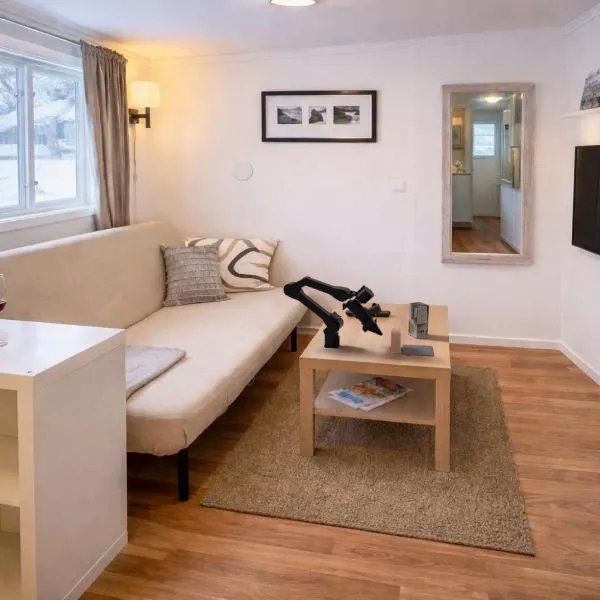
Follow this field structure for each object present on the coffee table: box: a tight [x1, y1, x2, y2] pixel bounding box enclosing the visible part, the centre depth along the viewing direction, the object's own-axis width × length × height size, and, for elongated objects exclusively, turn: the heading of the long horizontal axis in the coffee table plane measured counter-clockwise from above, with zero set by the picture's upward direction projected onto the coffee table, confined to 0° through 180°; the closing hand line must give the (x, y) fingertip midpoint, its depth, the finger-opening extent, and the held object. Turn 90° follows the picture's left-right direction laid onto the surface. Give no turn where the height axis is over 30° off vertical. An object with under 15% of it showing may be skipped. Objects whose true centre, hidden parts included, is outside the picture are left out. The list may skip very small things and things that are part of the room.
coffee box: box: [407, 301, 430, 340], centre depth 316 cm, size 9×6×16 cm
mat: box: [402, 344, 434, 357], centre depth 292 cm, size 13×16×1 cm
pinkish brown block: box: [390, 327, 402, 354], centre depth 293 cm, size 4×10×9 cm, turn 172°
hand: (382, 335), depth 293 cm, fingers closed
